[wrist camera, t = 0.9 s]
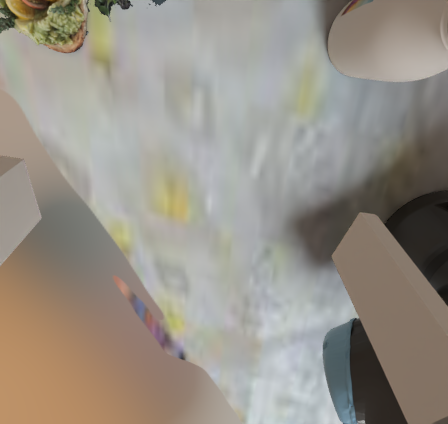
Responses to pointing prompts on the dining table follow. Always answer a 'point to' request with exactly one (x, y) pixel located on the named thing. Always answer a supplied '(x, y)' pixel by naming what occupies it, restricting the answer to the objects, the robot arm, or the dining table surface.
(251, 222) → the dining table surface
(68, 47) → the plated dish
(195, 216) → the dining table surface
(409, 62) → the milk bottle
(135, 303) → the dining table surface
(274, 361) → the dining table surface
